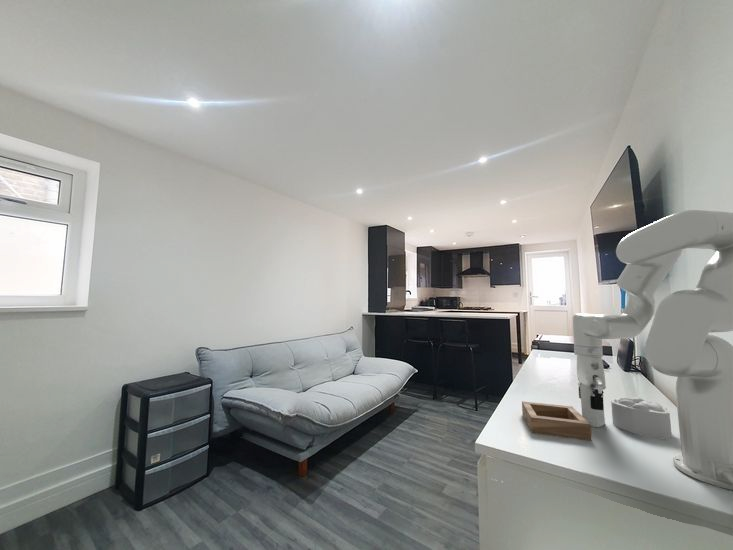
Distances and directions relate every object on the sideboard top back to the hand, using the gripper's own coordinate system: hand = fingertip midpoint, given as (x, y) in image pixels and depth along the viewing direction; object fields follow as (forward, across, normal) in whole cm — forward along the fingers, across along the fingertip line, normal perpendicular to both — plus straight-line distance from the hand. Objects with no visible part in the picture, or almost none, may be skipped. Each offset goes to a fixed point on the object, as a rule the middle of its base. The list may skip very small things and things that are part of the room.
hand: (590, 403), depth 94 cm
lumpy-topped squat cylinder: (+6, -1, -12) cm, 14 cm away
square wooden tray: (+6, -8, +13) cm, 16 cm away
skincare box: (+6, -1, 0) cm, 6 cm away
